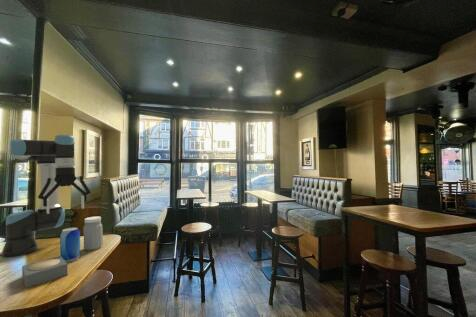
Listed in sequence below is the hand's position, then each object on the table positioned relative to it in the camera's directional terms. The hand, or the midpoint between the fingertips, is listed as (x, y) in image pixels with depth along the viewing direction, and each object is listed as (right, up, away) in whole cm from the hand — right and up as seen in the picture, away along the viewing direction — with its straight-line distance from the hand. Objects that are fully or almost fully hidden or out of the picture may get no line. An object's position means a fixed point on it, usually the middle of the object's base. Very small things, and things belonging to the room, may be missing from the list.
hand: (66, 210), depth 110 cm
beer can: (-5, -28, +10) cm, 31 cm away
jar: (-3, -29, +26) cm, 39 cm away
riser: (-4, -28, -7) cm, 29 cm away
